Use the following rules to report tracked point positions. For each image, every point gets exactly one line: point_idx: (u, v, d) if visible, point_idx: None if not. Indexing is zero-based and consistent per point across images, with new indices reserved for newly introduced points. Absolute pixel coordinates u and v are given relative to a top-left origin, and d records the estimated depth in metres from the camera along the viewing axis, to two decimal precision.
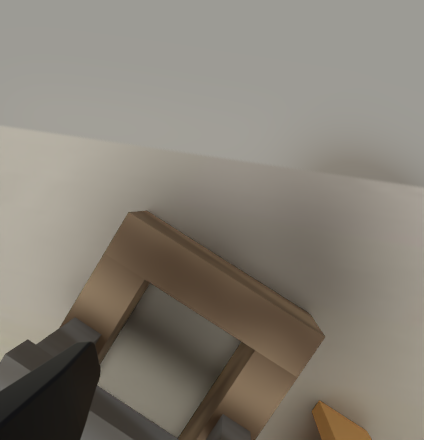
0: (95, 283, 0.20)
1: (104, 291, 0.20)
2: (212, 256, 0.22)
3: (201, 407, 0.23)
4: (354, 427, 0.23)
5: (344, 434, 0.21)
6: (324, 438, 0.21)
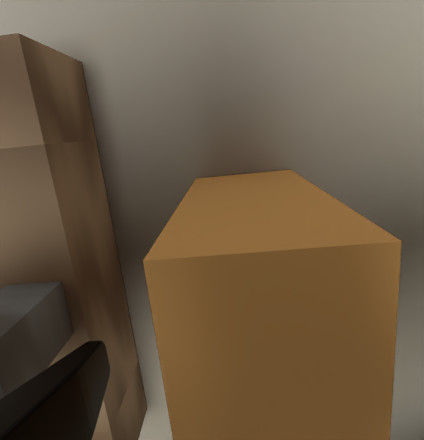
0: None
1: None
2: None
3: None
4: (260, 174, 0.13)
5: (223, 185, 0.11)
6: None
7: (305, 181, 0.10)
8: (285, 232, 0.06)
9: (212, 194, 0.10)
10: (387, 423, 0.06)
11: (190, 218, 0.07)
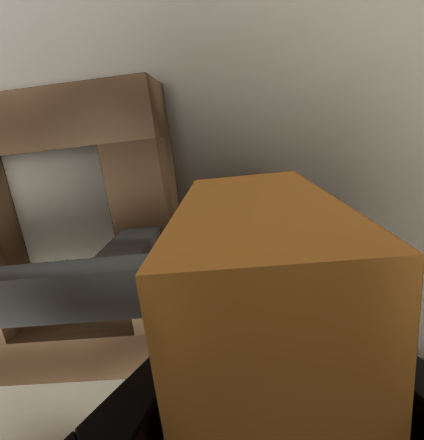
0: None
1: None
2: None
3: None
4: (262, 176, 0.12)
5: (223, 188, 0.11)
6: None
7: (310, 183, 0.10)
8: (293, 242, 0.05)
9: (212, 197, 0.09)
10: None
11: (188, 225, 0.07)
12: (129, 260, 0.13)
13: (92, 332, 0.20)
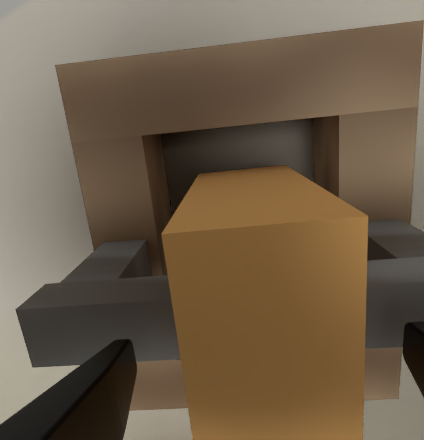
0: (92, 187, 0.14)
1: (110, 188, 0.14)
2: None
3: None
4: (258, 169, 0.14)
5: (224, 179, 0.13)
6: None
7: (297, 174, 0.12)
8: (277, 212, 0.07)
9: (214, 186, 0.11)
10: (361, 369, 0.07)
11: (197, 204, 0.09)
12: None
13: None
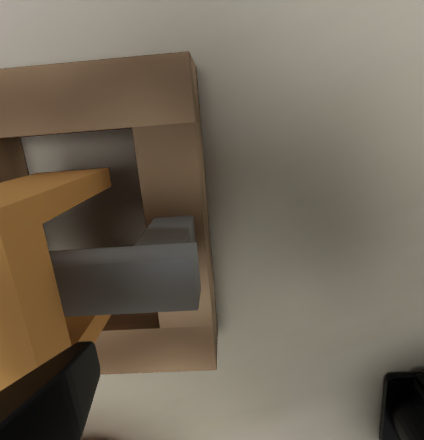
0: None
1: None
2: None
3: None
4: (79, 171, 0.17)
5: (31, 179, 0.15)
6: None
7: (81, 176, 0.14)
8: None
9: (5, 185, 0.14)
10: (22, 323, 0.10)
11: None
12: (175, 249, 0.12)
13: (114, 324, 0.19)
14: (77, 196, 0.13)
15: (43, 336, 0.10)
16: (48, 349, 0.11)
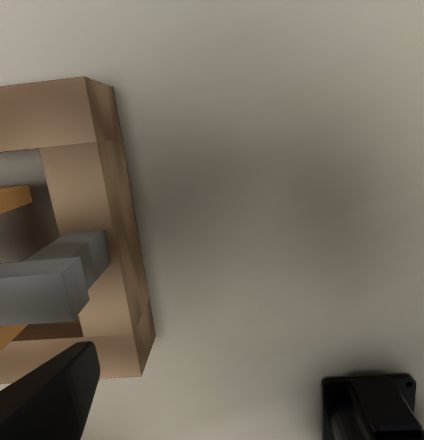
0: None
1: None
2: None
3: None
4: None
5: None
6: None
7: None
8: None
9: None
10: None
11: None
12: (54, 264, 0.13)
13: (43, 333, 0.20)
14: None
15: None
16: None
